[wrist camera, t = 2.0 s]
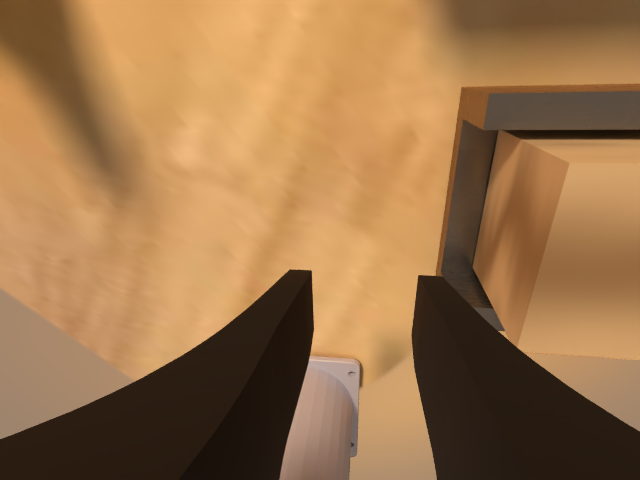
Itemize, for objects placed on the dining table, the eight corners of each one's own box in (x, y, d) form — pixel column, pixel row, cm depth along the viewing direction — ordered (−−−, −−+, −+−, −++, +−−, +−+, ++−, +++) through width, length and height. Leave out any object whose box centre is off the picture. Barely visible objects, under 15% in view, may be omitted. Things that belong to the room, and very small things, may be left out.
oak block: (600, 272, 17) (704, 364, 12) (472, 267, 18) (515, 351, 13) (655, 128, 14) (823, 164, 9) (498, 128, 15) (569, 163, 10)
